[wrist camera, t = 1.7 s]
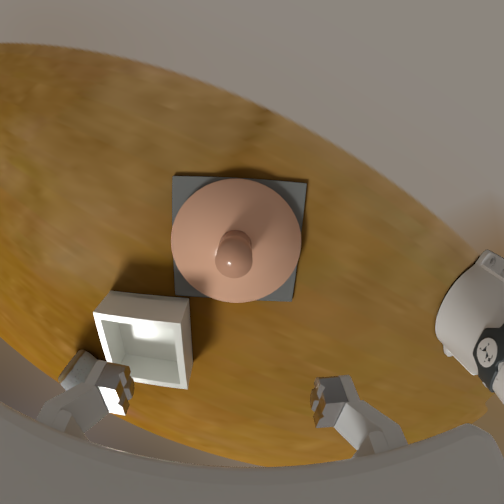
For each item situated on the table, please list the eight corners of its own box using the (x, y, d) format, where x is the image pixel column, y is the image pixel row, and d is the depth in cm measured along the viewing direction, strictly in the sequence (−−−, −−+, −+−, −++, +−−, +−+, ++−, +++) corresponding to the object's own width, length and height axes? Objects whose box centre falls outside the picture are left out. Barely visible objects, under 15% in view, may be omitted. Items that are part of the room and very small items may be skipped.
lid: (306, 183, 26) (318, 190, 22) (291, 301, 31) (298, 326, 26) (172, 176, 26) (157, 182, 21) (175, 294, 30) (164, 318, 26)
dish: (189, 298, 31) (180, 323, 26) (193, 362, 34) (187, 389, 30) (110, 290, 30) (92, 312, 26) (124, 352, 34) (112, 377, 29)
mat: (305, 183, 27) (306, 183, 26) (291, 299, 31) (291, 301, 31) (173, 175, 26) (172, 176, 26) (176, 293, 31) (175, 295, 30)
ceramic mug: (86, 338, 33) (63, 373, 26) (129, 373, 36) (113, 411, 28) (64, 365, 36) (45, 395, 29) (102, 394, 38) (86, 427, 31)
